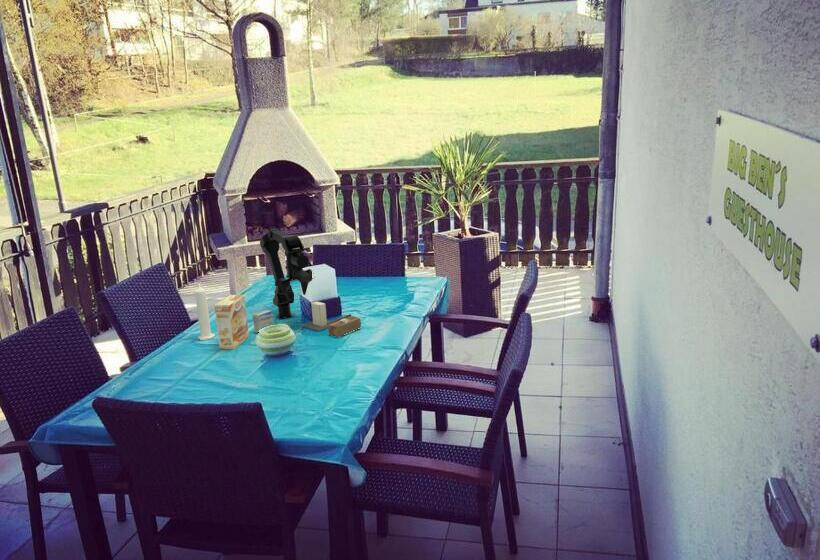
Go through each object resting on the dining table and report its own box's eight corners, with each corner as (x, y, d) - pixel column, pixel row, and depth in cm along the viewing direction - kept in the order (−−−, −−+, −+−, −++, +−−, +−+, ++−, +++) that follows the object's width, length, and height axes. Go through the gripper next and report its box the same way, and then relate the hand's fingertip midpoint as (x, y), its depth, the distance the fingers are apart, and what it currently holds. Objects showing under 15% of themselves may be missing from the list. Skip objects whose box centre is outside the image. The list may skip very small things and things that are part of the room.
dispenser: (328, 335, 291) (327, 323, 290) (350, 326, 302) (350, 314, 300) (338, 338, 287) (337, 325, 286) (361, 328, 298) (360, 316, 296)
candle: (194, 339, 295) (186, 284, 288) (206, 333, 301) (198, 280, 294) (206, 341, 292) (199, 286, 285) (218, 335, 298) (210, 281, 291)
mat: (301, 326, 304) (301, 325, 304) (320, 319, 312) (320, 318, 312) (319, 331, 296) (319, 330, 296) (338, 324, 305) (338, 322, 305)
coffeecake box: (234, 349, 280) (229, 305, 275) (219, 349, 282) (213, 305, 276) (249, 337, 294) (244, 294, 289) (234, 336, 296) (229, 294, 290)
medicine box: (260, 334, 297) (258, 315, 295) (254, 332, 300) (252, 314, 297) (274, 328, 303) (272, 310, 301) (267, 327, 306) (265, 309, 303)
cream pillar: (313, 324, 305) (311, 303, 302) (318, 322, 307) (316, 301, 304) (322, 326, 301) (320, 305, 298) (327, 324, 303) (325, 303, 301)
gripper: (288, 271, 288) (292, 305, 292) (321, 261, 301) (323, 294, 306) (272, 267, 295) (276, 301, 299) (304, 258, 308) (307, 291, 313)
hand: (296, 297), depth 304 cm, fingers open, 9 cm apart
